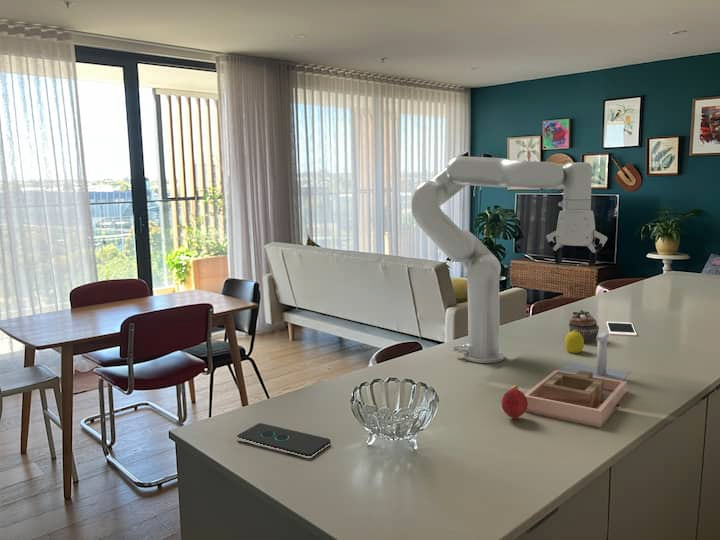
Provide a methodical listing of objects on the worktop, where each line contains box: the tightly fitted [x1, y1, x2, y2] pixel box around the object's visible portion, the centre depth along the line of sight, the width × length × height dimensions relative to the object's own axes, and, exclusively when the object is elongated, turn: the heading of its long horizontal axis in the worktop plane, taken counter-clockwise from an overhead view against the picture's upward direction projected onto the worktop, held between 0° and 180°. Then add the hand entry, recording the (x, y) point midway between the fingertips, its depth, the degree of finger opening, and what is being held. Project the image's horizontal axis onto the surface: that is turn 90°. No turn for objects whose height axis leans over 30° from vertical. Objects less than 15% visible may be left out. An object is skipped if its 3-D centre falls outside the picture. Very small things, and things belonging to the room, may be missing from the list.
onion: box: [501, 385, 528, 420], centre depth 136 cm, size 6×6×8 cm
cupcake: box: [568, 309, 600, 344], centre depth 200 cm, size 10×10×10 cm
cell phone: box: [606, 321, 638, 337], centre depth 213 cm, size 9×18×1 cm, turn 161°
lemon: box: [564, 330, 585, 354], centre depth 183 cm, size 6×6×8 cm
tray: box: [523, 369, 628, 429], centre depth 145 cm, size 23×18×4 cm
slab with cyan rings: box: [236, 422, 331, 456], centre depth 128 cm, size 8×2×20 cm
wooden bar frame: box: [543, 370, 604, 408], centre depth 145 cm, size 16×11×5 cm
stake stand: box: [558, 331, 631, 381], centre depth 163 cm, size 17×13×12 cm
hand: (575, 264), depth 173 cm, fingers open, 9 cm apart
